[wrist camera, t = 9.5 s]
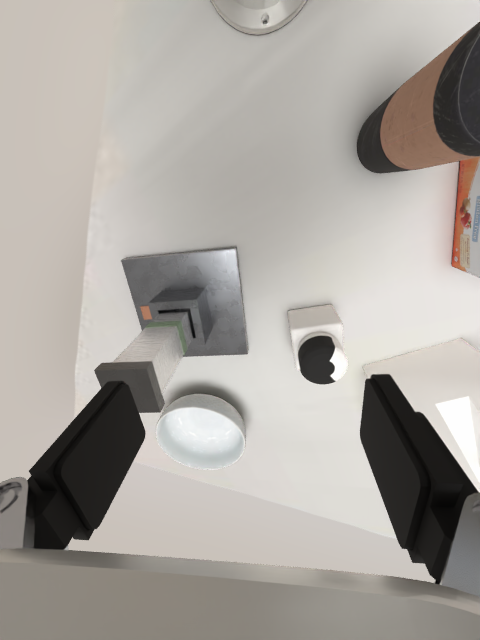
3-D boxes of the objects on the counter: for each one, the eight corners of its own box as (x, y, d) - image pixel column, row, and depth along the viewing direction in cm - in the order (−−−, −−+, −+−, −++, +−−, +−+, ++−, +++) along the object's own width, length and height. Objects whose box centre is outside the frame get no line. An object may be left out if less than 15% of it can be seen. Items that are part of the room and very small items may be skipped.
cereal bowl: (167, 433, 59) (154, 462, 52) (169, 373, 51) (154, 398, 45) (241, 447, 58) (238, 478, 52) (254, 389, 51) (252, 417, 44)
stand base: (125, 258, 42) (100, 268, 36) (236, 247, 40) (230, 257, 33) (153, 353, 50) (136, 376, 43) (248, 349, 47) (244, 373, 41)
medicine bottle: (292, 347, 46) (299, 393, 35) (287, 310, 43) (292, 348, 32) (334, 342, 45) (355, 388, 34) (332, 303, 42) (353, 340, 31)
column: (154, 310, 37) (94, 370, 24) (190, 308, 36) (146, 368, 24) (163, 342, 39) (111, 412, 27) (196, 340, 39) (160, 412, 26)
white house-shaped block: (473, 422, 49) (646, 615, 26) (386, 440, 53) (471, 620, 30) (460, 337, 42) (678, 500, 20) (362, 365, 46) (448, 526, 24)
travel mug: (340, 146, 33) (425, 87, 15) (393, 83, 30) (576, -85, 12) (381, 189, 34) (502, 181, 16) (435, 133, 31) (654, 50, 13)
